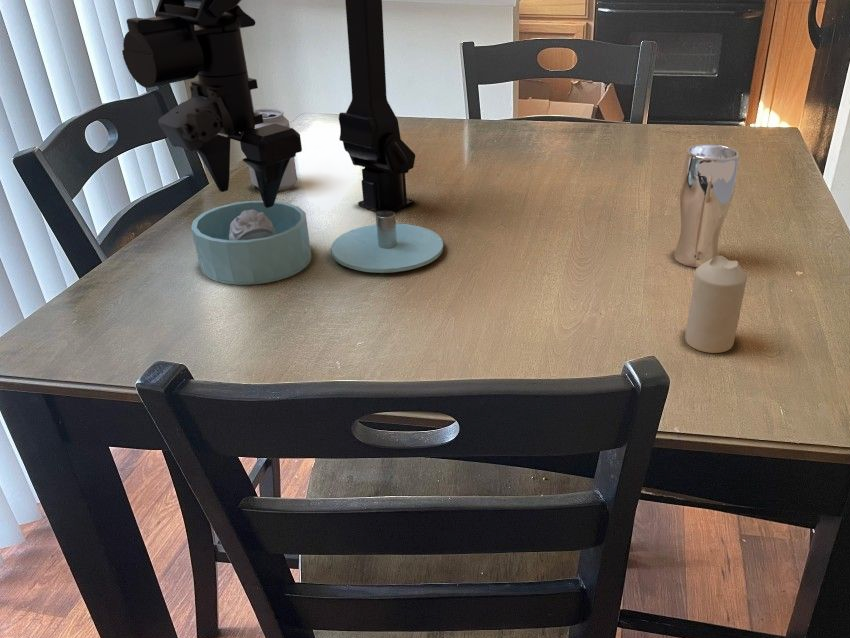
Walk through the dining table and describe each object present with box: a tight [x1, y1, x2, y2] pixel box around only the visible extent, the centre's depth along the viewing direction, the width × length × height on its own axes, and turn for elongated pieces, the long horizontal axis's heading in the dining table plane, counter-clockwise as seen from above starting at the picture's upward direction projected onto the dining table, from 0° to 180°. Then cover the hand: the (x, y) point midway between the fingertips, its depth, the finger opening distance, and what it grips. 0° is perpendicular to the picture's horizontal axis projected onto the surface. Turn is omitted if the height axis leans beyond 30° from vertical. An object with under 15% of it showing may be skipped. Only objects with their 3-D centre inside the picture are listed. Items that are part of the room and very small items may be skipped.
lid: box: [330, 211, 444, 274], centre depth 106 cm, size 15×15×6 cm
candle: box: [684, 255, 748, 354], centre depth 85 cm, size 6×6×10 cm
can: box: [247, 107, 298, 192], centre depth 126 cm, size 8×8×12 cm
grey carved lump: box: [229, 209, 276, 240], centre depth 102 cm, size 6×7×7 cm
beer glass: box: [673, 143, 740, 269], centre depth 103 cm, size 7×7×15 cm
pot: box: [190, 200, 312, 286], centre depth 103 cm, size 14×15×6 cm
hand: (246, 198), depth 99 cm, fingers open, 9 cm apart
